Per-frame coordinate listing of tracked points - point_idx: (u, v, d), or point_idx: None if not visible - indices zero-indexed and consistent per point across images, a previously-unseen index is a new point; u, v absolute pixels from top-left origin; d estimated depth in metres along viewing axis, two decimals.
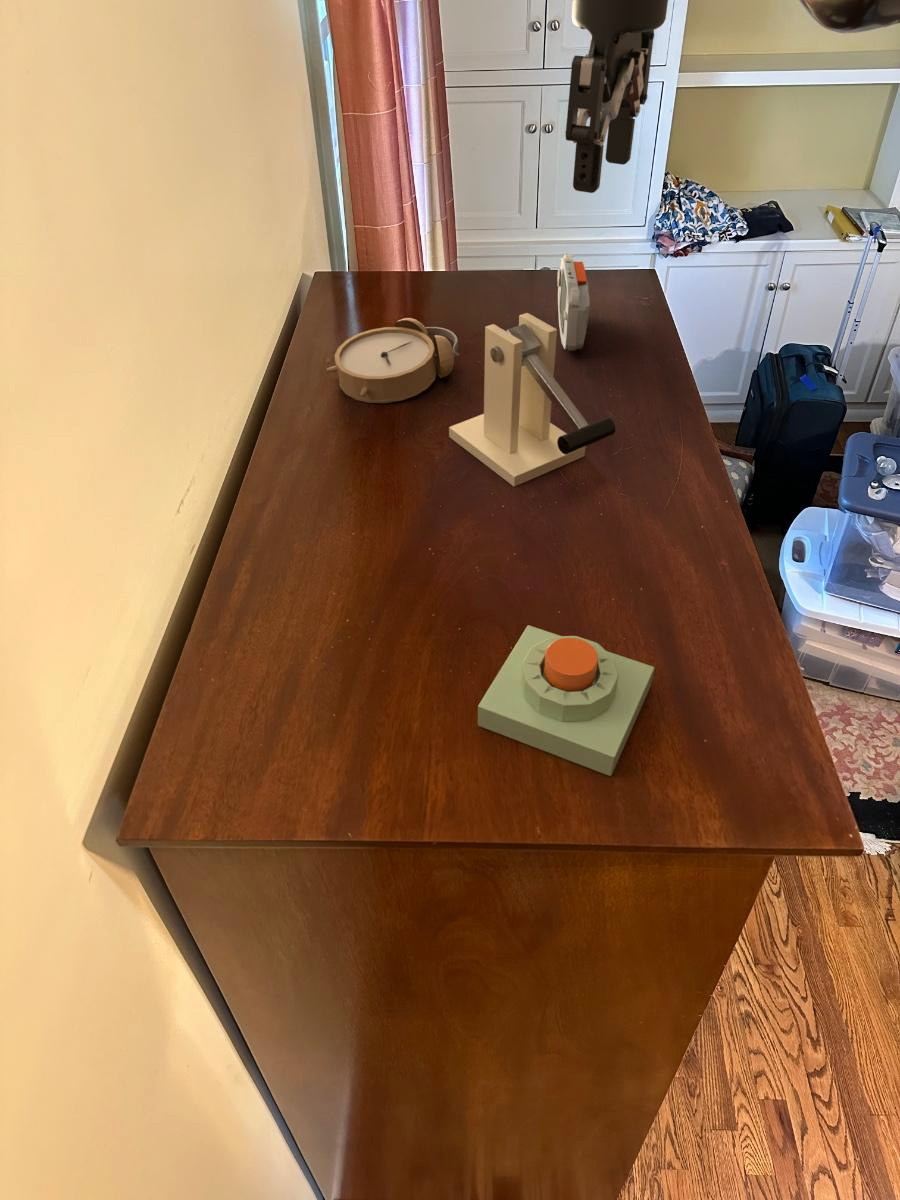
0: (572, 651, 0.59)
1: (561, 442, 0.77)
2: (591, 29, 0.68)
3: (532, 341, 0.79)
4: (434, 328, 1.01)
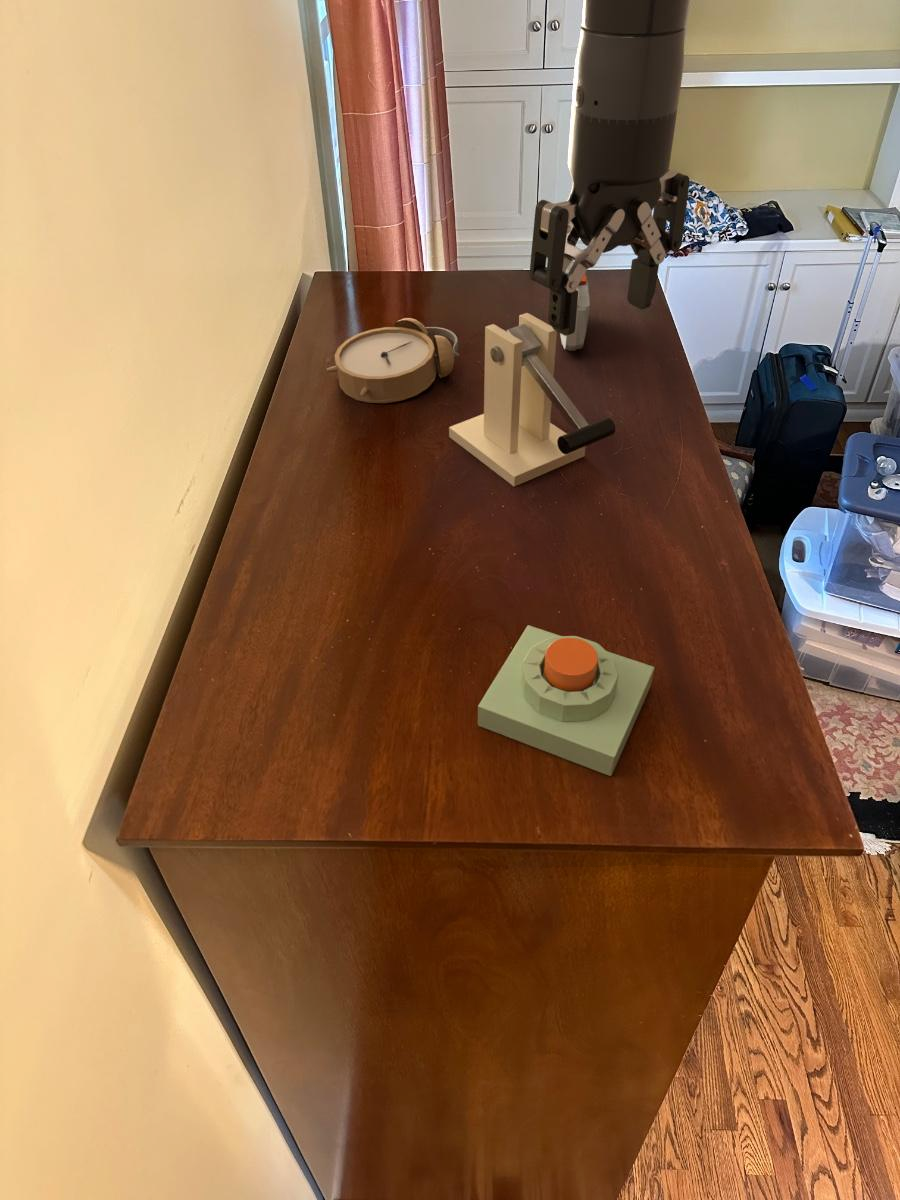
0: (572, 651, 0.59)
1: (561, 442, 0.77)
2: (572, 174, 0.64)
3: (532, 341, 0.79)
4: (434, 328, 1.01)
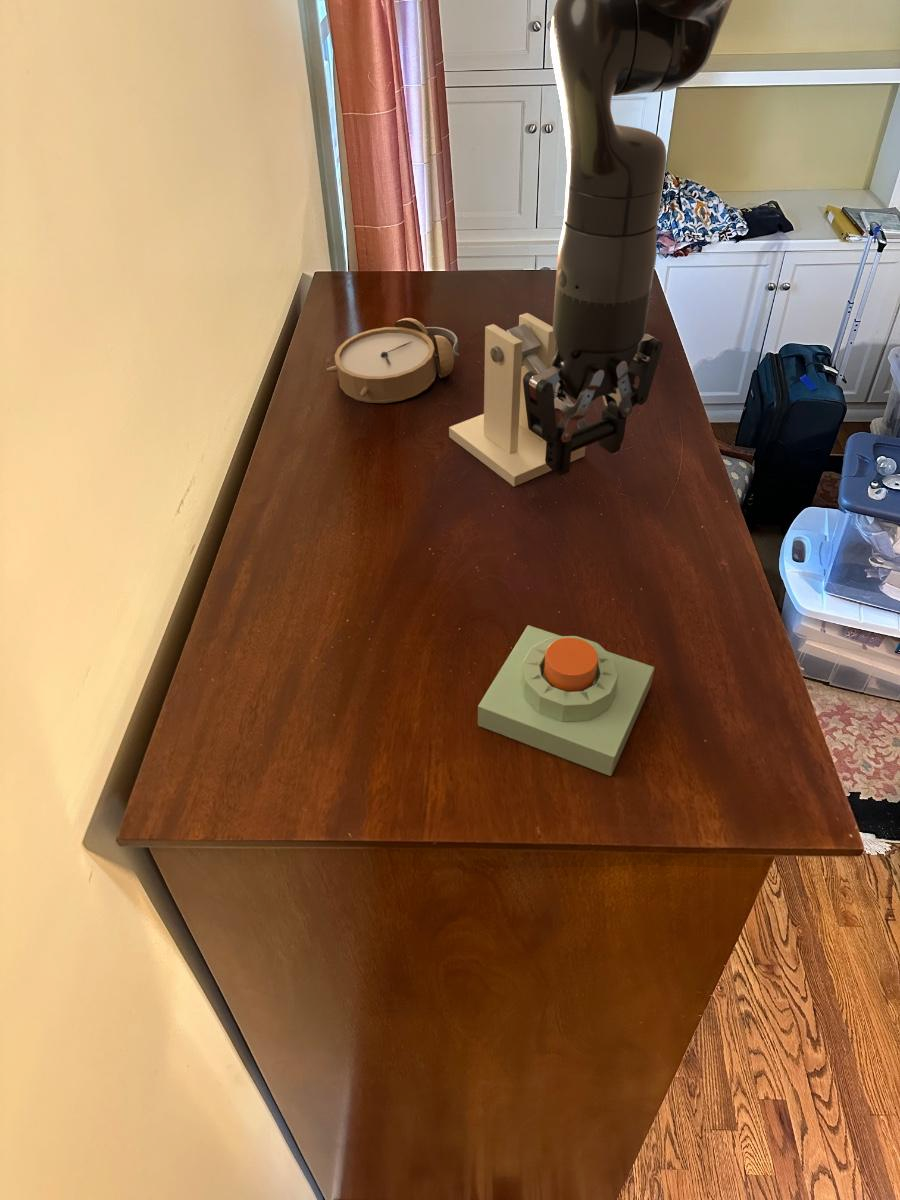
0: (572, 651, 0.59)
1: None
2: (556, 340, 0.70)
3: (532, 341, 0.79)
4: (434, 328, 1.01)
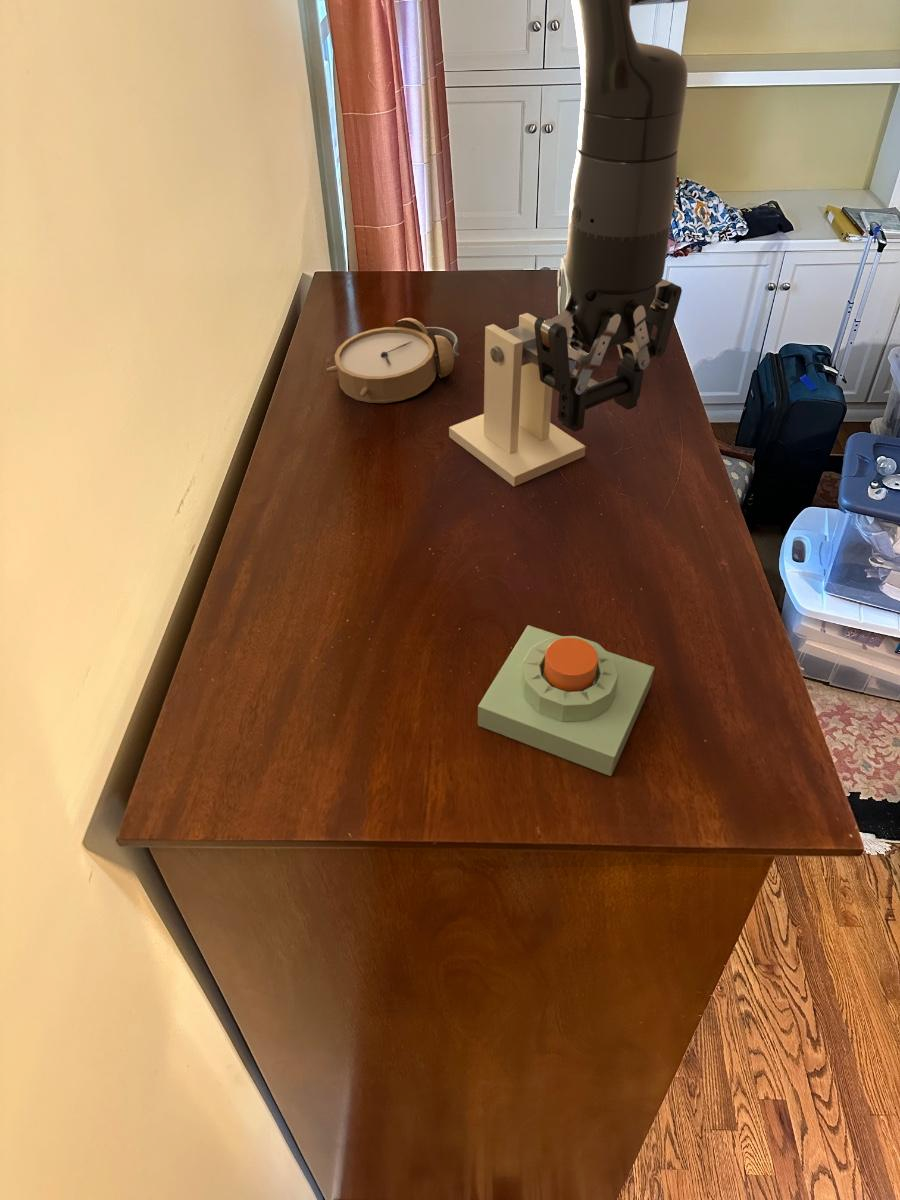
0: (572, 651, 0.59)
1: None
2: (570, 282, 0.66)
3: (529, 335, 0.79)
4: (434, 328, 1.01)
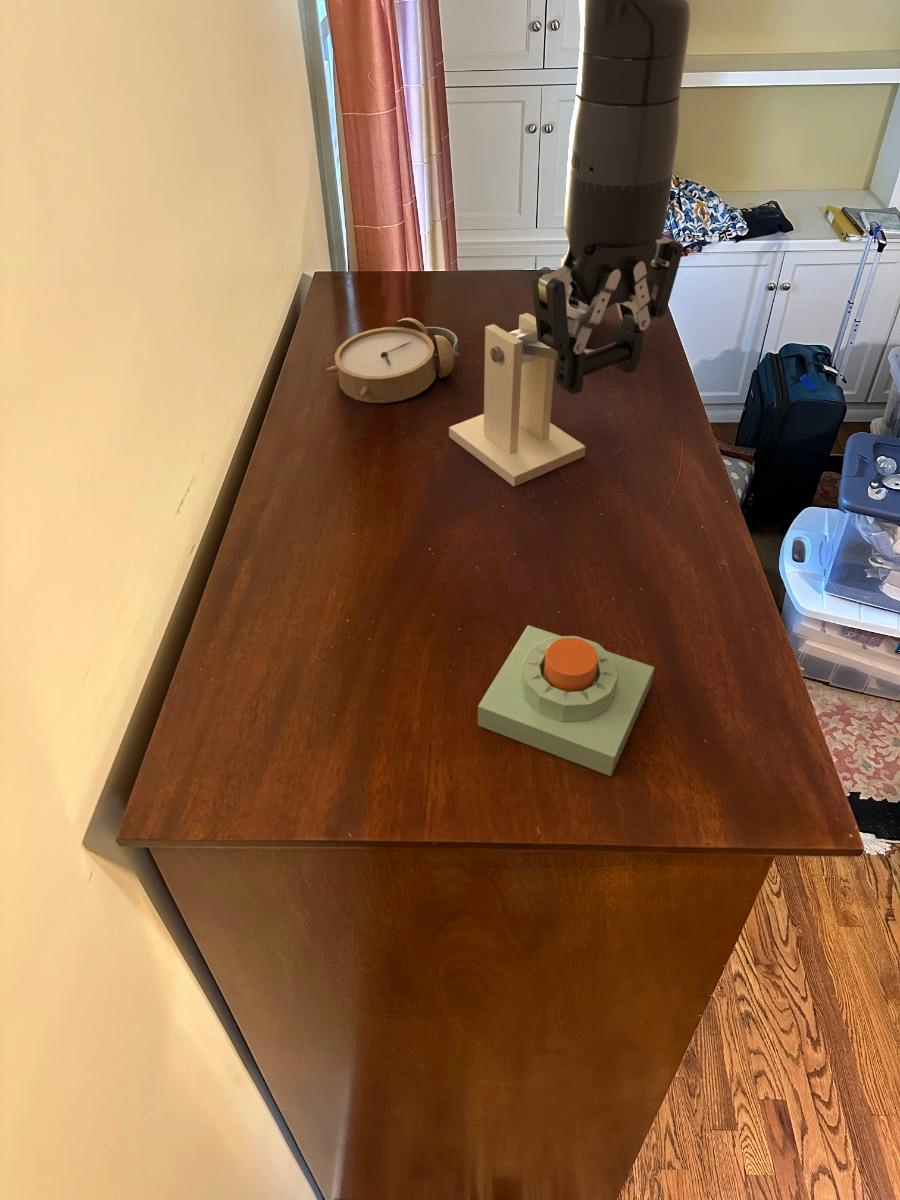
0: (572, 651, 0.59)
1: None
2: (568, 236, 0.64)
3: (527, 332, 0.80)
4: (434, 328, 1.01)
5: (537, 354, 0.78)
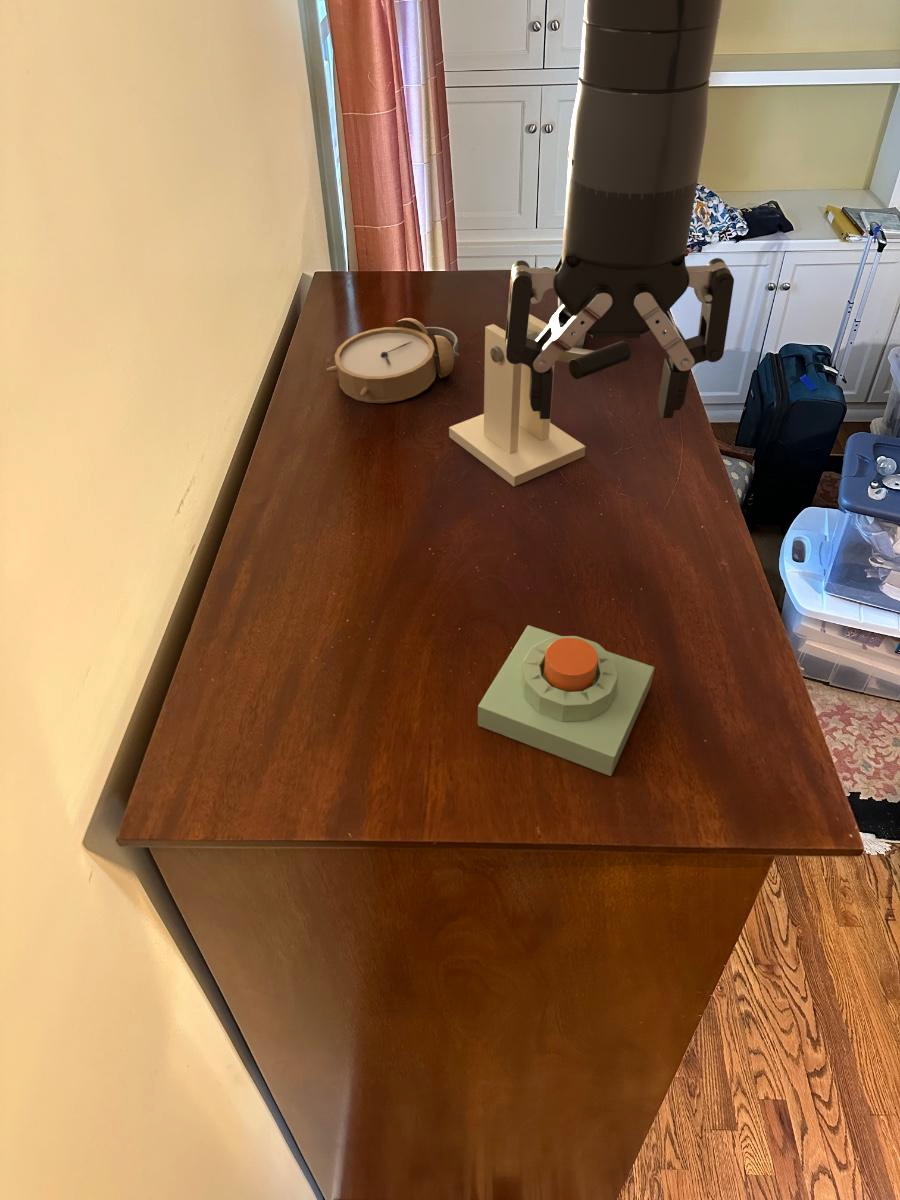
0: (572, 651, 0.59)
1: (572, 368, 0.71)
2: None
3: (527, 332, 0.80)
4: (434, 328, 1.01)
5: None
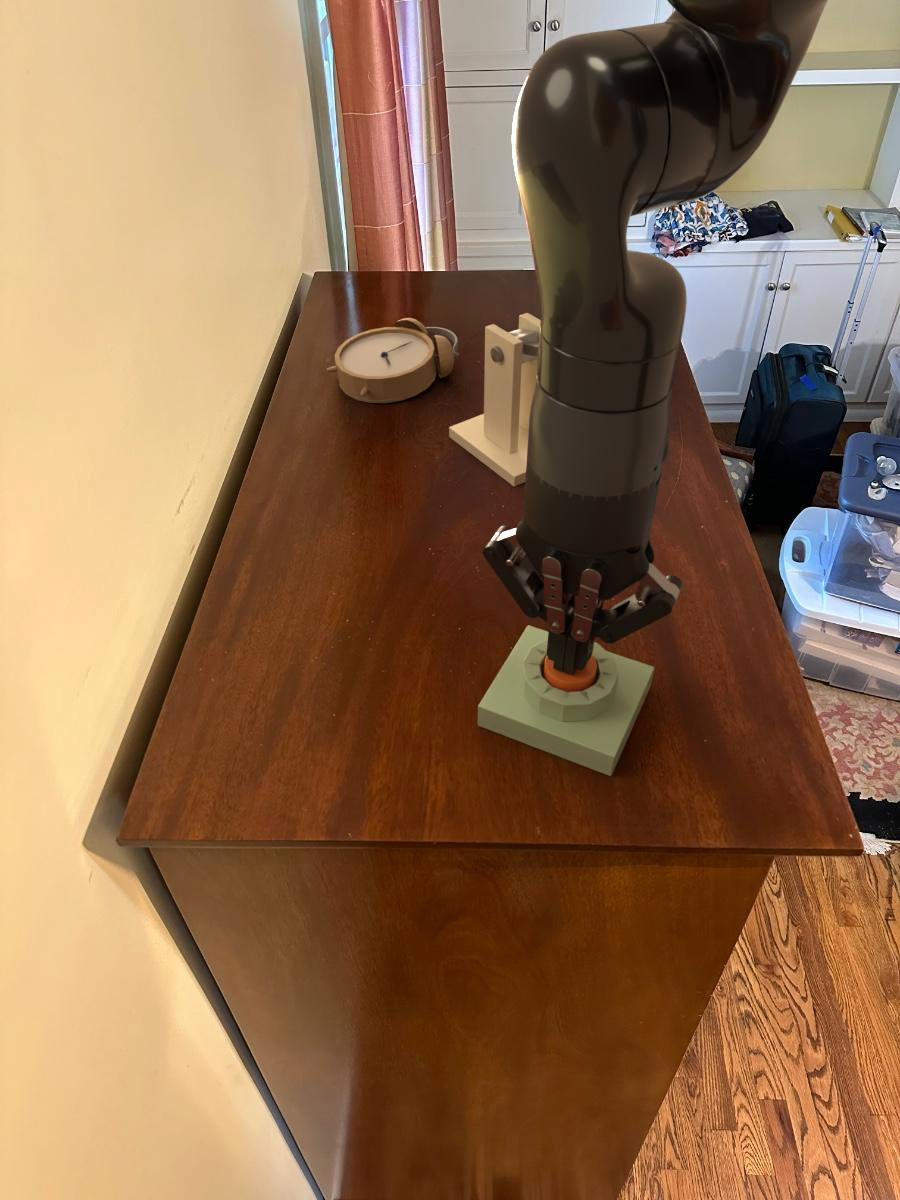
0: None
1: None
2: None
3: (527, 332, 0.80)
4: (434, 328, 1.01)
5: (537, 354, 0.78)
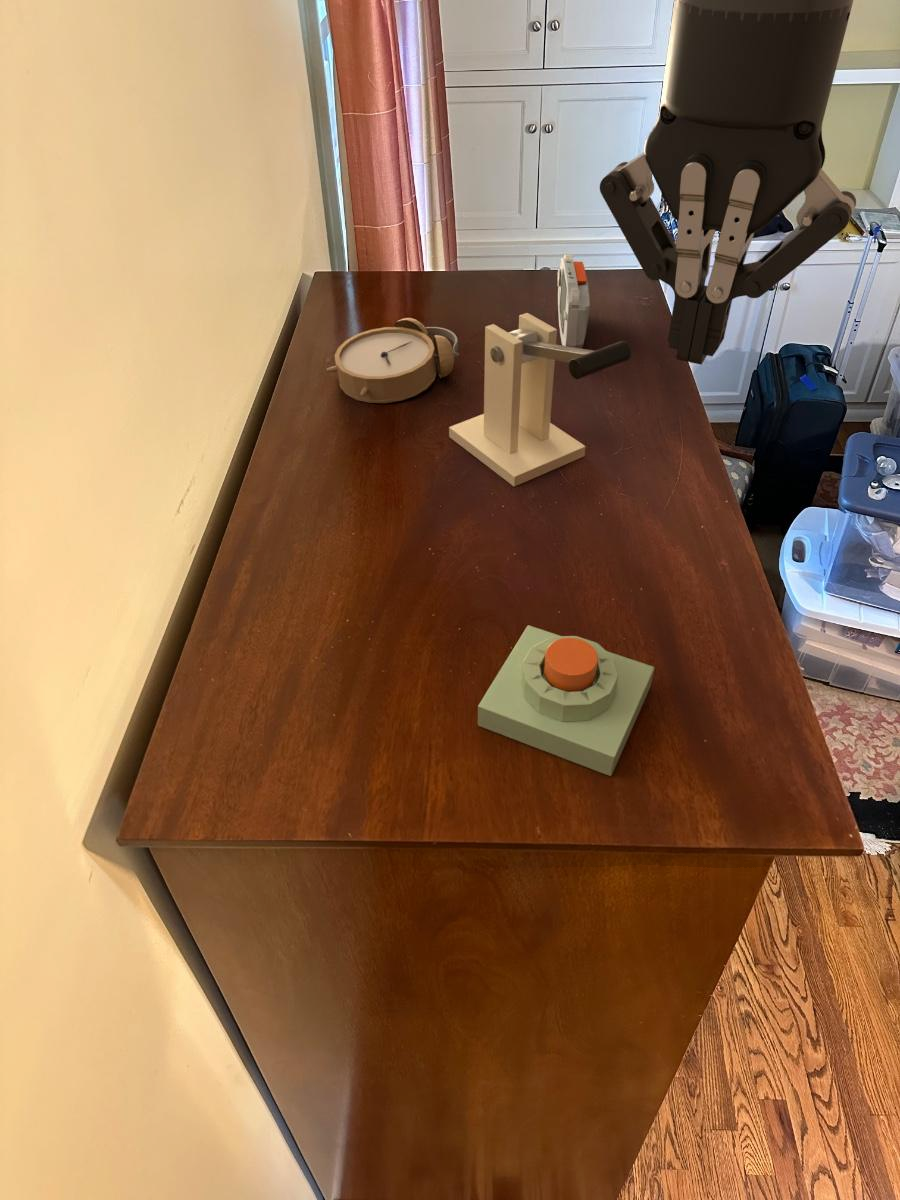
0: (572, 651, 0.59)
1: (572, 368, 0.71)
2: None
3: (527, 332, 0.80)
4: (434, 328, 1.01)
5: (537, 354, 0.78)
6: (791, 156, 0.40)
